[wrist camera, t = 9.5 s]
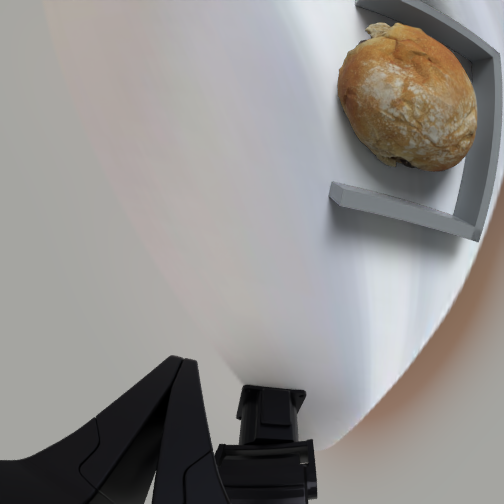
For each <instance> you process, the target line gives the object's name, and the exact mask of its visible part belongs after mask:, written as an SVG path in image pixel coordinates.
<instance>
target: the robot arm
mask: <svg viewBox="0 0 504 504" xmlns="http://www.w3.org/2000/svg"><path fill="white" fill-rule="evenodd" d="M305 398H306V391H304V390H292V389H280V388H270V387H261V386H252V385H244V386H243V387H242V392H241V397H240V402H239V406H238V411H237V417H236V418H237V419H239V420H241V428H240V437H239V445H226V444H219V446H218V449H217V451H216V453H215V456H214V452H213V448H212V443H211V438H210V433H209V428H208V423H207V418H206V412H205V407H204V401H203V395H202V390H201V384H200V377H199V370H198V364H197V361H196V360H192V359H188V358H185V359H183V358H182V357H178V356H174V355H171V356H169V357H168V358H167V359H166V360H164V361H163V362H162V363H161V364H160V365H159V366H157V367H156V368H155V369H154V370H152V371H151V372H150V373H149V374H147V375H146V376H145V377H144V378H143V379H141V380H140V381H139V382H138V383H137V384H135V385H134V386H133V387H132V388H130V389H129V390H128V391H127V392H125V393H124V394H123V395H122V396H121V397H119V398H118V399H117V400H115V401H114V402H113V403H112V404H111V405H109V406H108V407H107V408H106V409H104V410H103V411H102V412H100V413H99V414H98V415H97V416H96V418H95V417H94V418H93V419H91V420H90V421H89V422H88V423H86V424H85V425H83V426H82V427H81V428H79V429H78V430H77V431H75V432H74V433H72V434H70V435H69V436H67V437H66V438H64V439H62V440H61V441H59V442H57V443H55V444H53V445H51V446H49V447H48V448H46V449H44V450H42V451H40V452H38V453H36V454H35V455H32V456H30V457H27V458H24V459H20V460H0V504H144V502H145V499H146V497H147V494H148V491H149V488H150V485H151V483H152V480H153V477H154V474H155V471H156V475H155V482H154V490H153V497H152V504H308V500H310V499H317V478H316V467H315V458H314V447H313V439H309V440H307V441H300V442H298V425H297V413H298V411H299V409H300V407H301V405H302V404H303V402H304V400H305ZM307 462H308V463H307ZM300 463H306V464H300Z"/></svg>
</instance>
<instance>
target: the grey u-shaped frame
mask: <svg viewBox="0 0 504 504" xmlns="http://www.w3.org/2000/svg"><path fill="white" fill-rule="evenodd" d="M355 5H356V6H359V7H362V8H365V9H368V10H371V11H374V12H376V13H379V14H382V15H384V16H387V17H389V18H392V19H394V20H396V21H399V22H401V23H403V24H406V25H408V26H411V27H415V28H420V29H421V30H422V31H423V32H424V33H425V34H427V35H428V36H430V37H432V38H434V39H435V40H437V41H439V42H441V43H443V44H444V45H446V46H448V47H449V48H451V49H453V50H454V51H456V52H457V53H459V54H461V55H462V56H464V57H465V58H467V59H468V60H470V61H471V62H472V86H473V89H474V92H475V96H476V104H477V129H476V134H475V139H474V142H473V145H472V146H471V148H470V150H469V151H468V153H467V154H466V160H465V166H464V171H463V177H462V182H461V186H460V191H459V195H458V199H457V203H456V207H455V211H454V215H450V214H448V213H445V212H442V211H439V210H436V209H432V208H429V207H426V206H423V205H420V204H417V203H413V202H410V201H406V200H403V199H400V198H396V197H392V196H389V195H385V194H381V193H378V192H374V191H370V190H366V189H362V188H358V187H354V186H349V185H345V184H341V183H336V182H331V187H330V192H329V197H330V198H332V199H333V200H334V201H335V202H336V203H337V204H338V205H339V206H342V207H347V208H352V209H356V210H361V211H365V212H370V213H374V214H378V215H382V216H386V217H391V218H395V219H399V220H403V221H406V222H410V223H414V224H418V225H422V226H425V227H429V228H432V229H436V230H439V231H443V232H446V233H450V234H453V235H456V236H460V237H463V238H466V239H469V240H473V241H476V242H479V239H480V236H481V233H482V230H483V226H484V223H485V219H486V216H487V212H488V208H489V204H490V200H491V195H492V191H493V186H494V181H495V175H496V169H497V163H498V156H499V148H500V138H501V126H502V72H501V60H500V53H498V52H497V51H496V50H495V49H494V48H492V47H491V46H490V45H489V44H487V43H486V42H485V41H484V40H482V39H481V38H480V37H478V36H477V35H475V34H474V33H473V32H471V31H470V30H468V29H467V28H466V27H464V26H463V25H461V24H460V23H458V22H456V21H455V20H453V19H452V18H450V17H449V16H447V15H445V14H444V13H442V12H440V11H438V10H437V9H435V8H433V7H431V6H429V5H428V4H426V3H424V2H422V1H420V0H355Z"/></svg>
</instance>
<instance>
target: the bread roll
mask: <svg viewBox="0 0 504 504" xmlns="http://www.w3.org/2000/svg"><path fill="white" fill-rule="evenodd" d="M365 31H367V32H368V34H371V39H368V40H363V41H360V42H359V45H357V46H356V48H355V49H353V50H351V51H349V52H348V53H347V57H346V58H345V60H344V63H343V65H342V67H341V68H340V69H339V77H338V97H339V98H340V101H341V105H342V107H343V109H344V113H345V114H346V115H347V117H348V119H349V121H350V124H351V126H352V128H353V130H354V132H355V134H356V135H357V137H358V138H359V140H360V141H361V142H362V143H363V144H364V145H366V146H367V147H368V148H369V149H370V150H371V151H372V153H373V154H374V155H376V157H377V159H378V160H380V161H382V162H383V163H384V164H386V165H388V166H392V167H396V163H397V162H398V163H401V164H403V165H405V166H407V167H410V168H415V167H417V168H418V169H421V170H424V171H433V172H435V171H443V170H447V169H450V168H452V167H454V166H455V165H457V164H458V163H459V162H460V161H461V160H462V159H463V158H464V157H465V156H466V154H467V153H468V151H469V150H470V148H471V146H472V145H473V142H474V139H475V134H476V129H477V104H476V96H475V92H474V89H473V86H472V84H471V82H470V79H469V77H468V76H467V74H466V72H465V70H464V69H463V67H462V65H461V64H460V62H459V61H458V59H457V58H456V57H455V55H454V54H453V53H452V52H451V51H450V50H449V49H448V48H447V47H445V46H444V45H442V44H441V43H440V42H438V41H437V40H435V39H433V38H431V37H430V36H428V35H427V34H425V33H424V32H423V31H422V30H421V29H420V28H415V27H411V26H407V25H403V24H400V23H395V24H394V25H393V26H391V27H390V26H389V25H387V24H386V23H376V24H371V25H369V26H368V28H366V30H365Z"/></svg>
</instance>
